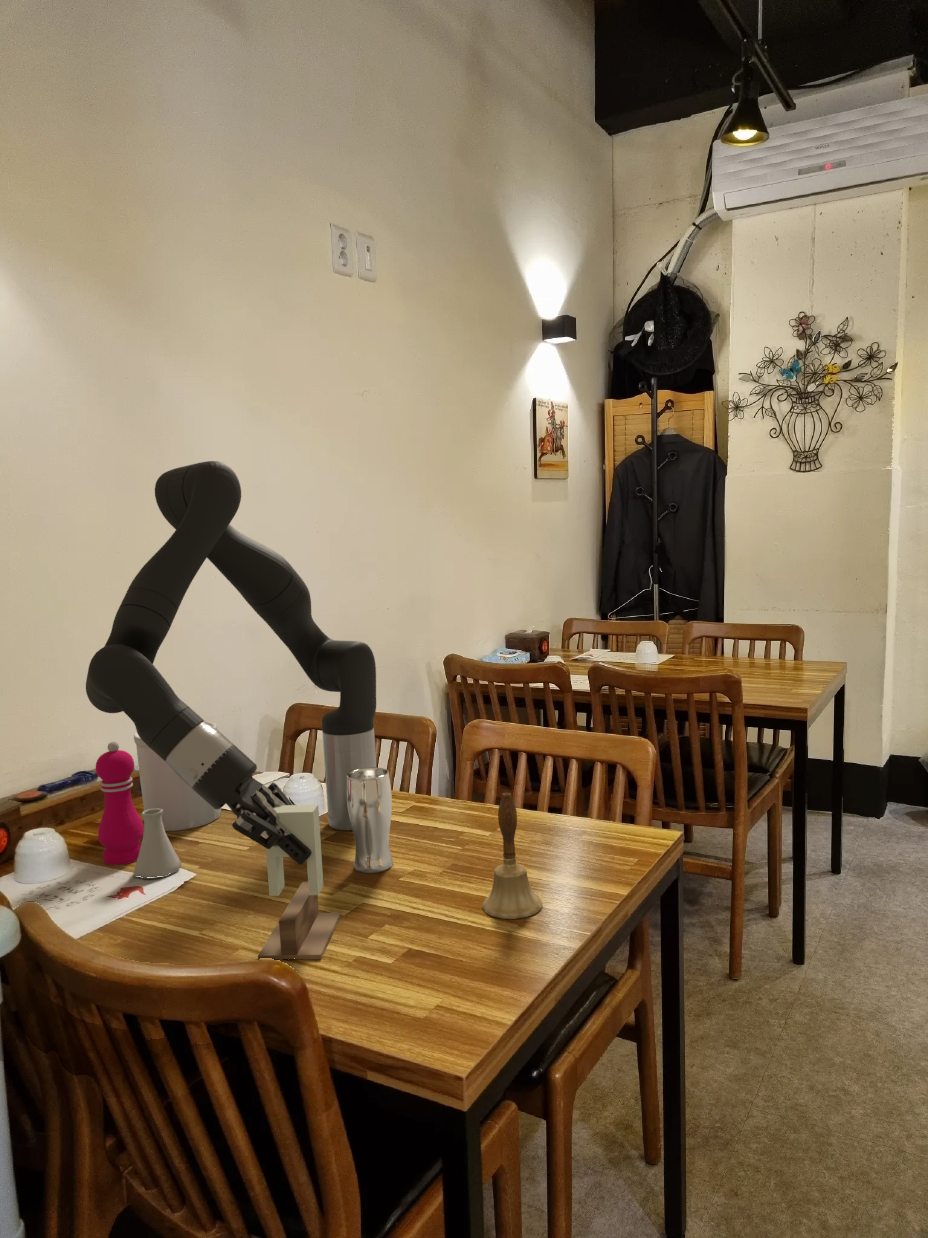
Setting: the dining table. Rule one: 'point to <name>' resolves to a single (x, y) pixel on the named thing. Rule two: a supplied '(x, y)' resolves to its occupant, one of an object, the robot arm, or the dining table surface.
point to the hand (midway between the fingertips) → (309, 853)
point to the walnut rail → (301, 929)
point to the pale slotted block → (307, 830)
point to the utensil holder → (171, 792)
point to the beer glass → (370, 818)
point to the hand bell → (510, 873)
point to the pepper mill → (118, 808)
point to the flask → (155, 848)
